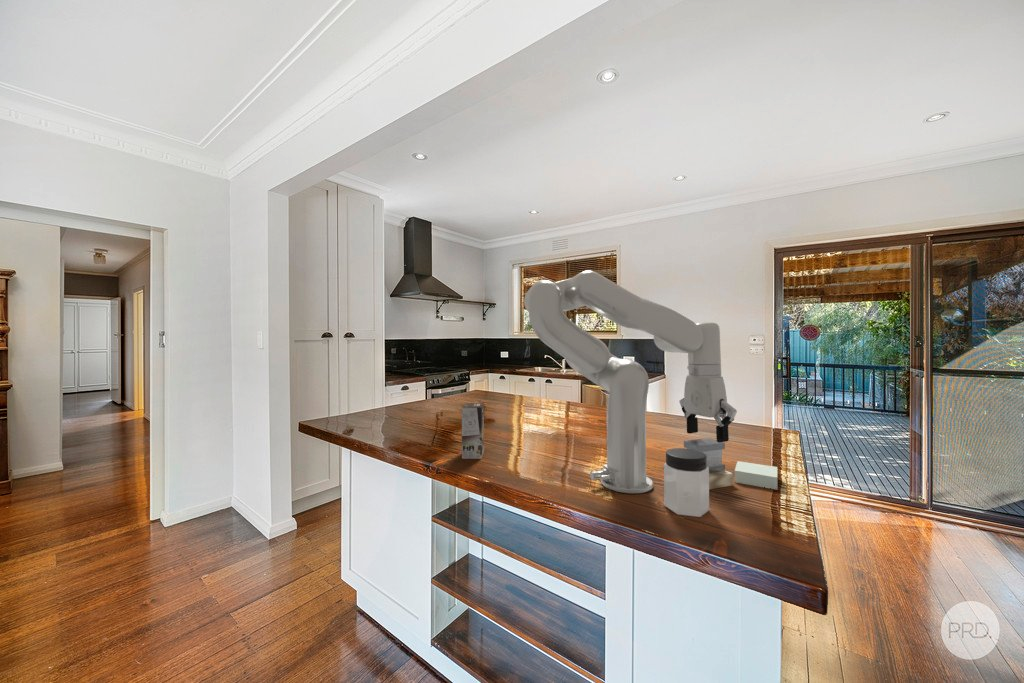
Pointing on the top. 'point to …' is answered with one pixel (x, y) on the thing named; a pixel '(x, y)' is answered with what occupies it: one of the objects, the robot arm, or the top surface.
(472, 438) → the coffee box
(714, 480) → the stand
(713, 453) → the housing
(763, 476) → the stand
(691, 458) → the jar
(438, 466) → the top surface
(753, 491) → the top surface
